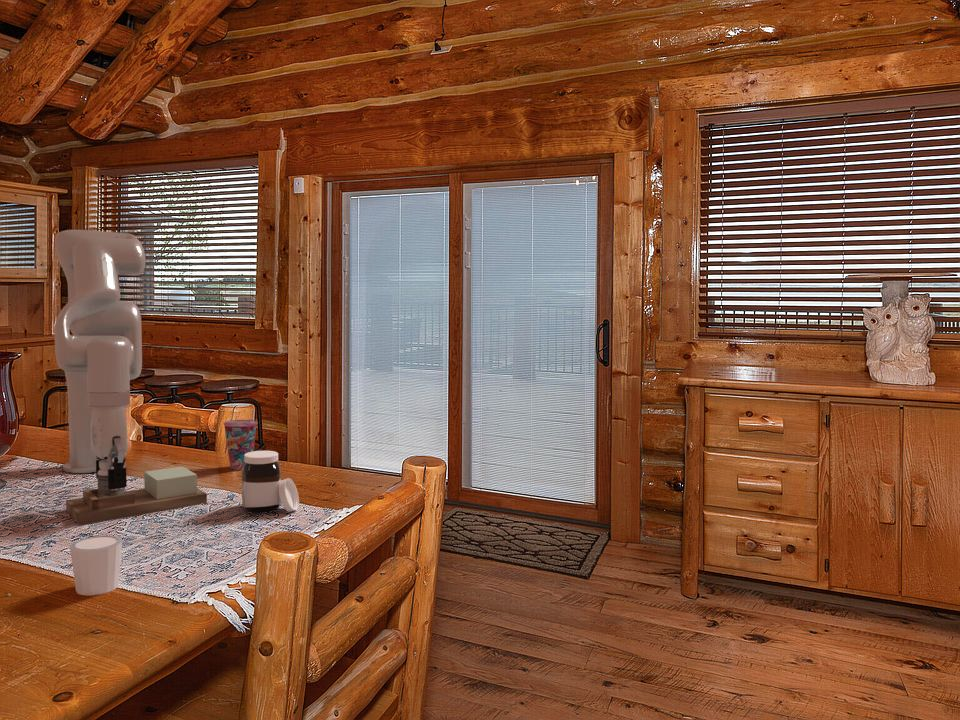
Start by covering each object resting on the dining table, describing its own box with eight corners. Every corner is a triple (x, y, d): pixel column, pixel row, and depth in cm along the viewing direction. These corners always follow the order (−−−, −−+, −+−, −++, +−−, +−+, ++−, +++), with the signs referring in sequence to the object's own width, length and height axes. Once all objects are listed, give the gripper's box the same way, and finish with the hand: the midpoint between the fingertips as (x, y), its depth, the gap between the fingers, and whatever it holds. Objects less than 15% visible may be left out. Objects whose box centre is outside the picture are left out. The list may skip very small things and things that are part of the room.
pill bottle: (113, 505, 136) (112, 464, 135) (92, 503, 137) (91, 462, 136) (129, 498, 140) (128, 458, 140) (109, 496, 141) (108, 457, 141)
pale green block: (144, 489, 147) (144, 471, 146) (182, 483, 152) (182, 466, 152) (157, 499, 140) (157, 480, 140) (197, 492, 145) (196, 474, 145)
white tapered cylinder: (109, 574, 107) (108, 531, 106) (132, 585, 103) (131, 541, 102) (62, 589, 101) (61, 543, 101) (85, 601, 97) (83, 554, 97)
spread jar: (240, 503, 146) (240, 450, 145) (294, 498, 150) (294, 446, 149) (244, 520, 135) (244, 462, 134) (302, 514, 139) (302, 458, 138)
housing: (66, 509, 138) (65, 490, 138) (187, 490, 154) (187, 473, 154) (79, 525, 129) (78, 504, 129) (206, 502, 145) (206, 484, 145)
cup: (216, 469, 174) (215, 423, 173) (239, 462, 181) (239, 418, 180) (245, 473, 170) (244, 426, 169) (267, 466, 178) (267, 421, 177)
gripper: (78, 396, 140) (80, 477, 142) (98, 406, 128) (101, 495, 129) (118, 393, 145) (120, 471, 147) (141, 403, 133) (143, 489, 134)
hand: (111, 482), depth 138 cm, fingers open, 9 cm apart
